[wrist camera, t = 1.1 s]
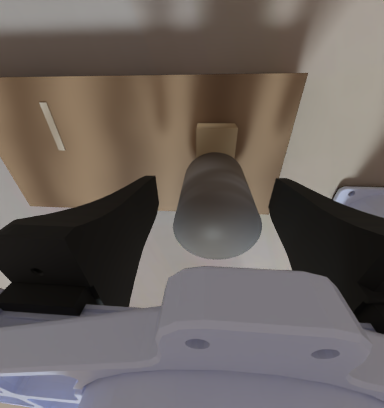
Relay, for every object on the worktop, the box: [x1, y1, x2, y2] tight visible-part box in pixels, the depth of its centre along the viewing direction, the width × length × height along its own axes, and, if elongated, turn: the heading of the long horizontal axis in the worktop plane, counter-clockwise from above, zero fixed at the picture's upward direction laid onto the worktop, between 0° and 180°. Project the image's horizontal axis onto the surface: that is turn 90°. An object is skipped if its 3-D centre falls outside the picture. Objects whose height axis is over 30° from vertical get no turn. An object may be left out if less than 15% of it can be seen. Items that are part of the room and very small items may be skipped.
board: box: [0, 73, 308, 214], centre depth 15 cm, size 22×10×2 cm, turn 91°
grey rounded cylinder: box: [173, 123, 262, 259], centre depth 12 cm, size 5×9×8 cm, turn 1°
